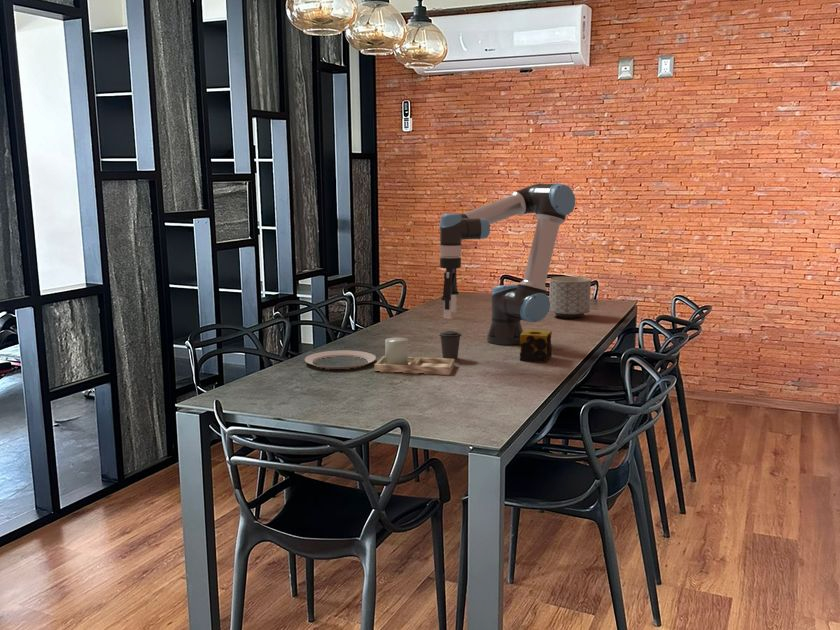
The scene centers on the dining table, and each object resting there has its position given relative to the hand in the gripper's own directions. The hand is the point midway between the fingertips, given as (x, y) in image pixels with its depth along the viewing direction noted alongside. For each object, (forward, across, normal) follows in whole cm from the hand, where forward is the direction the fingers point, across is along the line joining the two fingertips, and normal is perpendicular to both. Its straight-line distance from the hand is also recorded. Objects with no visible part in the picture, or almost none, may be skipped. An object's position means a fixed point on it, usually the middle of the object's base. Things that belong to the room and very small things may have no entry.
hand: (450, 315), depth 283 cm
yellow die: (+16, -5, +31) cm, 36 cm away
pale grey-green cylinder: (+16, +17, -16) cm, 29 cm away
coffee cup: (+16, 0, 0) cm, 16 cm away
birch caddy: (+16, +17, -10) cm, 25 cm away
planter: (+16, -95, +44) cm, 106 cm away
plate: (+17, +13, -38) cm, 43 cm away
